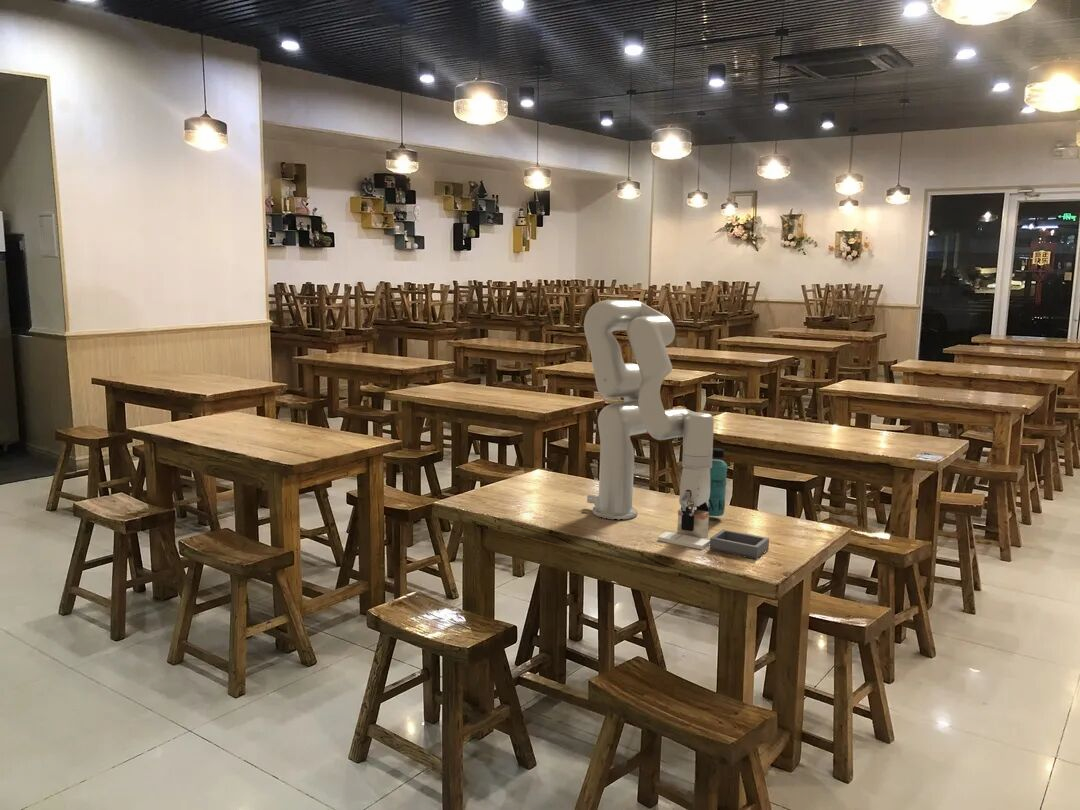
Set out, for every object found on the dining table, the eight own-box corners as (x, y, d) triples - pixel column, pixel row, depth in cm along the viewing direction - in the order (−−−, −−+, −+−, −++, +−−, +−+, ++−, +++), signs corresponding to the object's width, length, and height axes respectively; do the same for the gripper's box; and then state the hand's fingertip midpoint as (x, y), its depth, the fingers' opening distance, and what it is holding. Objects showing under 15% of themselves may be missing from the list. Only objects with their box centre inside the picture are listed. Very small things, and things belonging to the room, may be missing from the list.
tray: (709, 549, 212) (710, 538, 212) (722, 540, 220) (723, 529, 219) (756, 559, 206) (757, 547, 205) (768, 549, 213) (769, 538, 213)
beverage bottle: (696, 516, 241) (700, 446, 238) (716, 514, 243) (720, 445, 240) (708, 522, 235) (712, 451, 232) (729, 520, 237) (733, 450, 234)
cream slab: (657, 540, 218) (658, 536, 218) (667, 534, 223) (667, 530, 223) (702, 549, 212) (702, 545, 212) (711, 543, 217) (711, 539, 217)
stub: (676, 536, 222) (678, 510, 221) (682, 533, 225) (683, 507, 224) (702, 541, 219) (703, 515, 217) (707, 538, 221) (709, 512, 220)
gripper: (696, 453, 228) (694, 516, 230) (669, 464, 213) (667, 531, 216) (723, 457, 224) (720, 520, 226) (698, 468, 209) (695, 536, 212)
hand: (694, 525), depth 221 cm, fingers open, 9 cm apart
